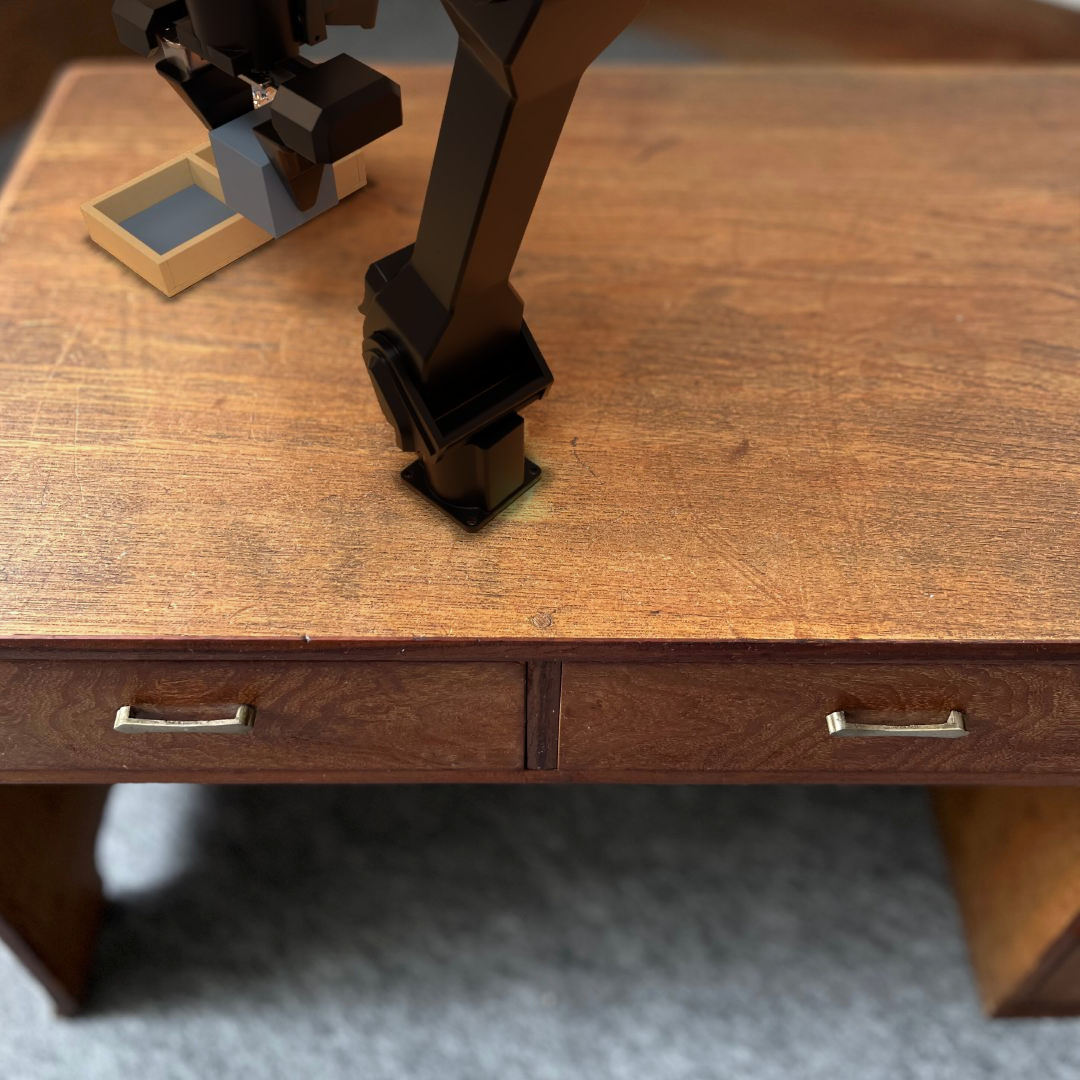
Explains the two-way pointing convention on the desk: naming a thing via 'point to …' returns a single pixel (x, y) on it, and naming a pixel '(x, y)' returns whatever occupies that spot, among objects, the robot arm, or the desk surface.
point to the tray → (185, 219)
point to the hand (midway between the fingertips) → (279, 190)
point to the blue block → (261, 178)
